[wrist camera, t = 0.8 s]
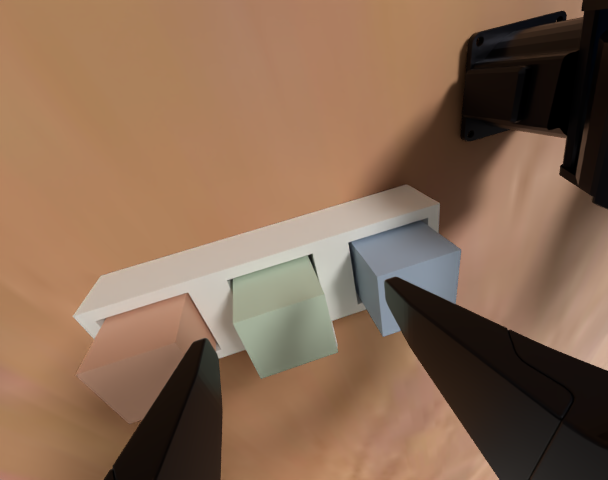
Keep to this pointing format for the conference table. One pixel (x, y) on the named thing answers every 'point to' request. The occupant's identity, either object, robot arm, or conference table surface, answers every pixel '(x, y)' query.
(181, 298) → the terracotta key
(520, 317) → the conference table surface
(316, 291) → the sage green key
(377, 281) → the slate blue key
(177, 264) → the key console
